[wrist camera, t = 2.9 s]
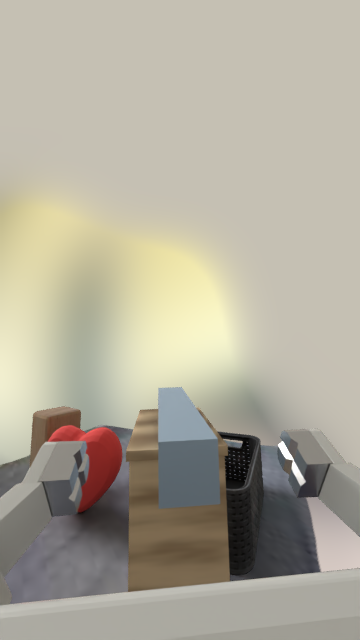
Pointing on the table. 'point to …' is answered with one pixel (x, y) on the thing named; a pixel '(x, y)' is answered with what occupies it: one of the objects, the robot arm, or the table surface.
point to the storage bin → (243, 501)
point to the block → (51, 425)
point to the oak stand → (171, 522)
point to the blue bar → (185, 453)
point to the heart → (95, 460)
